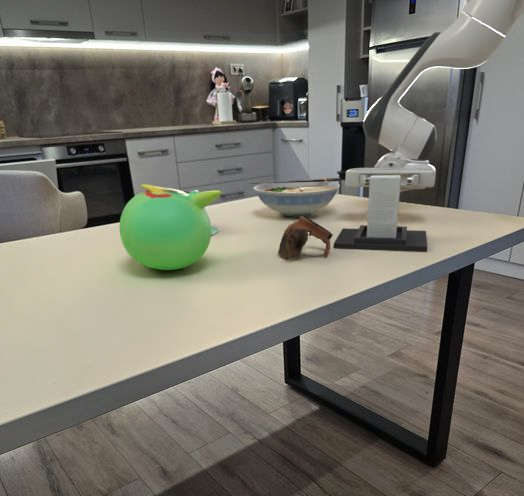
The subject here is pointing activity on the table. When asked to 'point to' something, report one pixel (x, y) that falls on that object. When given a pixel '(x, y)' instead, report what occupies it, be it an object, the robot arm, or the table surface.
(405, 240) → the dock pad
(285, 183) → the ramen bowl
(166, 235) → the toy bird
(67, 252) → the table surface
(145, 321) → the table surface
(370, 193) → the cosmetic box
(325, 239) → the brown arched part
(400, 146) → the robot arm
